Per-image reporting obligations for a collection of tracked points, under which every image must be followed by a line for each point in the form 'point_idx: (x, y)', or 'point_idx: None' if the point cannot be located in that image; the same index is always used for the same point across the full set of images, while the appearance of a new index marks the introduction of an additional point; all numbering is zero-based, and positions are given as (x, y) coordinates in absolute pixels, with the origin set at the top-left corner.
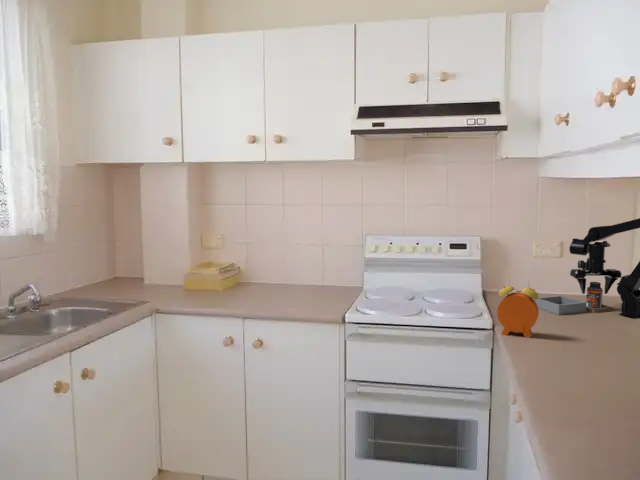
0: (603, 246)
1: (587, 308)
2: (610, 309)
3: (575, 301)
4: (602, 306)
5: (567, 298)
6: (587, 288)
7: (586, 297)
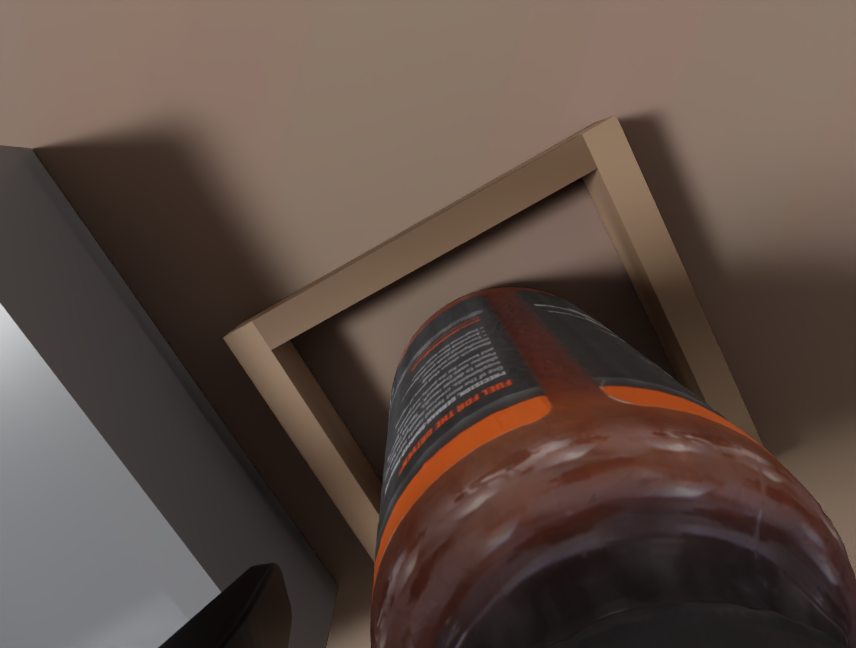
0: None
1: (371, 543)
2: None
3: (157, 552)
4: (669, 340)
5: (12, 384)
6: (376, 639)
7: (386, 454)
